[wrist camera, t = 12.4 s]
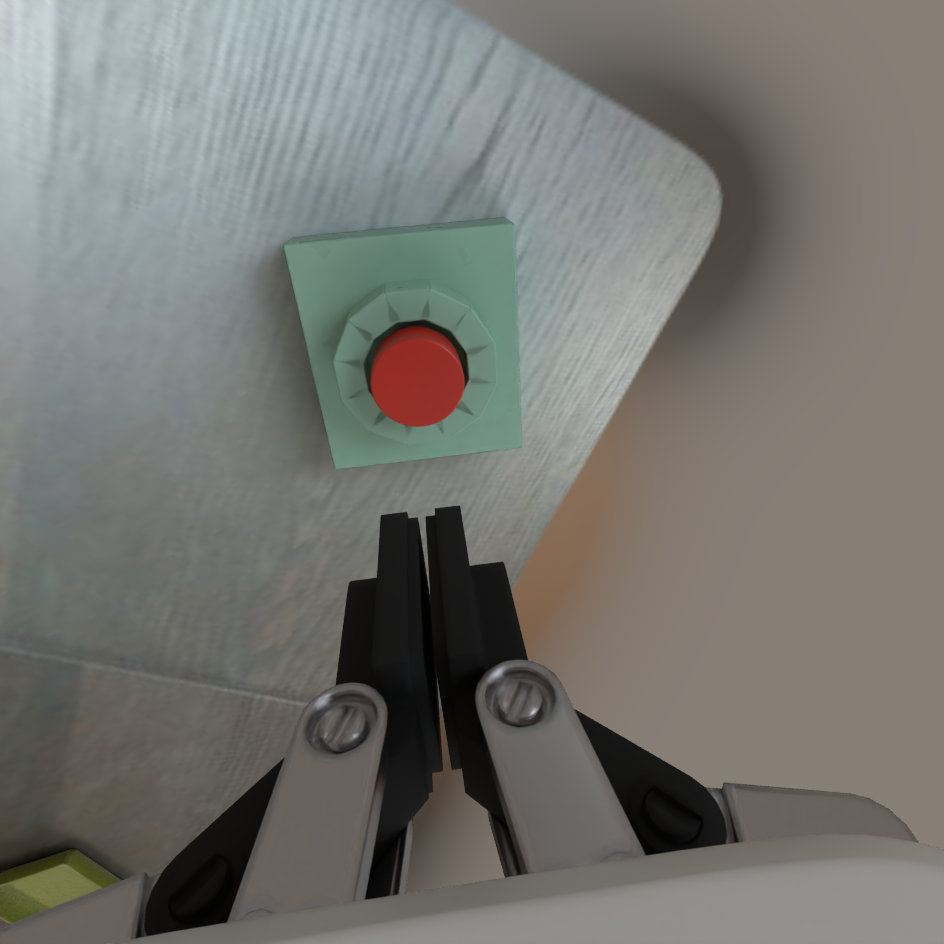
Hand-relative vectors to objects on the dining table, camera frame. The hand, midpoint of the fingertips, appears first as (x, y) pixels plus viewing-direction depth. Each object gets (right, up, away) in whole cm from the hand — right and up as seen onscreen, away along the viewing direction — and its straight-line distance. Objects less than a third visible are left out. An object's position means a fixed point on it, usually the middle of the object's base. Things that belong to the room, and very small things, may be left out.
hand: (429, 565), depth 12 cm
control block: (-2, +8, +14) cm, 16 cm away
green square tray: (-31, -30, +33) cm, 54 cm away
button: (-1, +6, +11) cm, 12 cm away
